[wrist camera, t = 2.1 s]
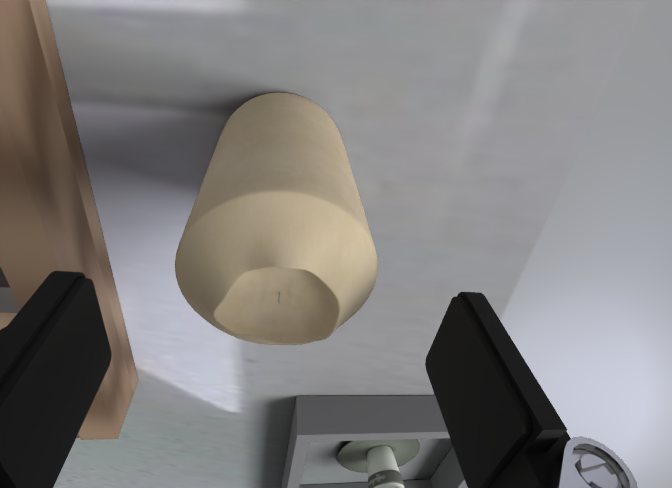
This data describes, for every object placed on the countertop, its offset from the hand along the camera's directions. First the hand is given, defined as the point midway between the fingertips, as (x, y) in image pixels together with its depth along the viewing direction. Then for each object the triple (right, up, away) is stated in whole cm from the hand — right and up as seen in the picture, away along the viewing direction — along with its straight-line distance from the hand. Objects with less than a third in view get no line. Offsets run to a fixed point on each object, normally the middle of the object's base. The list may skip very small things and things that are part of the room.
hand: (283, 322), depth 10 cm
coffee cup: (+5, -17, +25) cm, 31 cm away
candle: (-1, +6, +7) cm, 10 cm away
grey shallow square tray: (+5, -17, +25) cm, 31 cm away
